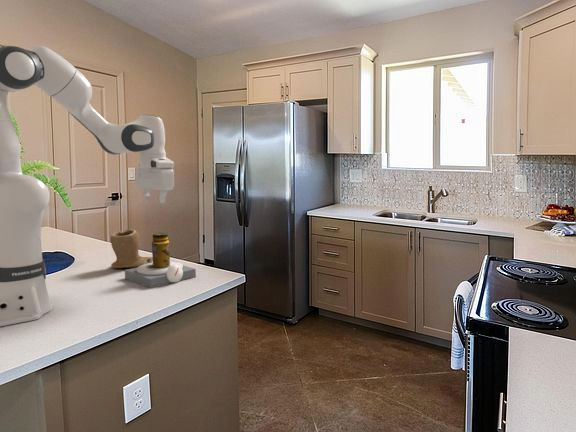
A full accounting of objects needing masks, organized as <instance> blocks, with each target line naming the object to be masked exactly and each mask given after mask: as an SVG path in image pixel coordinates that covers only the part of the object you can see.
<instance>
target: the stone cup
mask: <svg viewBox="0 0 576 432" xmlns="http://www.w3.org/2000/svg"><path fill="white" fill-rule="evenodd" d="M109 241H110V244H111V248H112V250H113V253H114V254H115V256H116V260H114V261H113V262H112V263H111V267H112V268H114V269H125V268H126V269H127V268H128V269H131V268H137V267H139V266H141V265H144V264H148V263H153V257H152V256H141V255H140V254H139V253H140V252H139V249H140V236H139V233H138V231H137V230H135V229H126V230H124V231H123V230H120V231H119V230H118V231H115V232H114V233H112V234H111V235H110V240H109Z"/></svg>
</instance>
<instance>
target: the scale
mask: <svg viewBox="0 0 576 432" xmlns="http://www.w3.org/2000/svg"><path fill="white" fill-rule="evenodd" d="M145 265H153V262H152V263H148V264H144V265H141V266H139V267H131V268H128V269H127V268H126V269H124V278H125V279H127V280H129V281H132V282H134V283H137V284H139V285H143V286H144V287H147V288H149V289H152V288H157V287H160V286H161V287H162V286H164V285H168V284H172V283H177V282H181V281H185V280H189V278H190V279H193V277H194V278H196V277H197V274H196V273H197V272H196V271H197V270H196V268H194V267H190V266H187V265H184V264H182V263H181V262H178V261H170V265H172V266H170V267H169V268H163V269H155V270H149V269H148V268H146V267H145Z"/></svg>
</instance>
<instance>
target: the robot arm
mask: <svg viewBox="0 0 576 432" xmlns="http://www.w3.org/2000/svg"><path fill="white" fill-rule="evenodd" d="M33 85H34V86H36V87H38V88H40V89H41V90H42V91H43V92H44V93H46V95H48V96H49V97H50V98H51V99H53V100H54V101H55V102H57V103H58V104H59V105H60V106H62V107H63V108H64V109H65V110H66V111H67V112H68V113H69V114H70V115H71V116H72V117H73V118H74V119H75V120H76V121H77V122H79V123H80V124H81V125H82V126H83V127H84V128H85V129H87V130H88V132H90V134H92V135H93V136H94V138H95V139H96V141H97V142H98V144H99V145H100V147H101V149H102V150H104V151H105V152H106V153H108V154H109V155H120V154H133V153H135V154H136V153H139V165H137V168H136V170H135V171H136V172H135V186H136V189H141V190H142V194H143V197H144V201H145V202H152V196H151V194H150V190H159V197H158V203H159V204H165V203H166V197H167V194H168V191H173V189H174V188H175V171H174V167H175V162H174V161H172V160H171V159H170V158H168V157H167V153H166V150H165V149H166V148H165V144H166V132H165V131H166V129H165V125H164V122H163V121H164V120H163V119H162V118H160V117H158V116H156V115H152V114H142V115H140V116H139V117H138V118H137V119H135V120H132V121H130V122H127V123H123V124H122V123H121V124H115V123H110V122H109V121H107V120H106V119H105V118H104V117H103V116H102V115H100V113H99V112H97V111H96V109H94V107H93V106H92V105H91V103H90V101H91V99H92V96H93V87H92V84H91V83H90V81H89V80H88V79H87V78H86V76H85V75H84V74H83V73H82V72H81V71H79V70H78V69H77V68H76V67H75V66H74V65H73V64H72V63H70V62H69V61H68V60H67V59H66V58H64V57H63V56H61V55H60V54H59V53H57V52H55V51H53V50H52V49H50V48H49V47H47V46H44V45H36V46H34V47H32V48H30V49H25V48H24V47H23V48H22V47H19V46H16V45H4V46H0V327H4V326H9V325H10V326H11V325H14V324H15V325H16V324H19V323H24V322H25V323H26V322H31V321H36V320H38V319H40V318H41V317H43V316H44V315H45V314H47V313H49V312H50V311H51V310H52V309H53V308H54V307H53V306H54V305H53V303H52V300H51V299H50V298H51V297H50V296H49V292H48V288H47V284H46V278H47V269H46V264H45V260H44V259H43V249H42V237H41V236H42V235H41V234H42V224H43V219H44V214H45V213H44V212H45V209H46V207H47V205H48V204H49V202H50V198H51V197H50V196H51V195H50V191H49V188H48V186H47V185H46V184H45V183H44V182H43V181H42V180H41V179H40V180H39V178H36V177H35V176H32V175H29V174H24V173H23V169H22V164H21V153H22V145H21V143H20V139H19V137H18V133H17V131H16V129H15V125H14V122H13V120H12V117H11V114H10V112H9V109H8V104H7V98H8V97H7V96H8V94H9V93H14V92H15V93H16V92H18V91H21V90H24V89H27V88H30V87H31V86H33Z"/></svg>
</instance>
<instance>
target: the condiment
mask: <svg viewBox="0 0 576 432" xmlns="http://www.w3.org/2000/svg"><path fill="white" fill-rule="evenodd" d="M151 250H152V251H151V253H152V254H151V255H152V256H151V257H153V261H152V263H153V265H145V267H146V268H148V269H149V270H155V269H163V268H169V267H170V266H172V265H170V262H171V258H170V257H171V254H170V253H171V252H170V241H169V234H168V233H166V232H158V233H157V232H156V233H153V234H152V242H151Z"/></svg>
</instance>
